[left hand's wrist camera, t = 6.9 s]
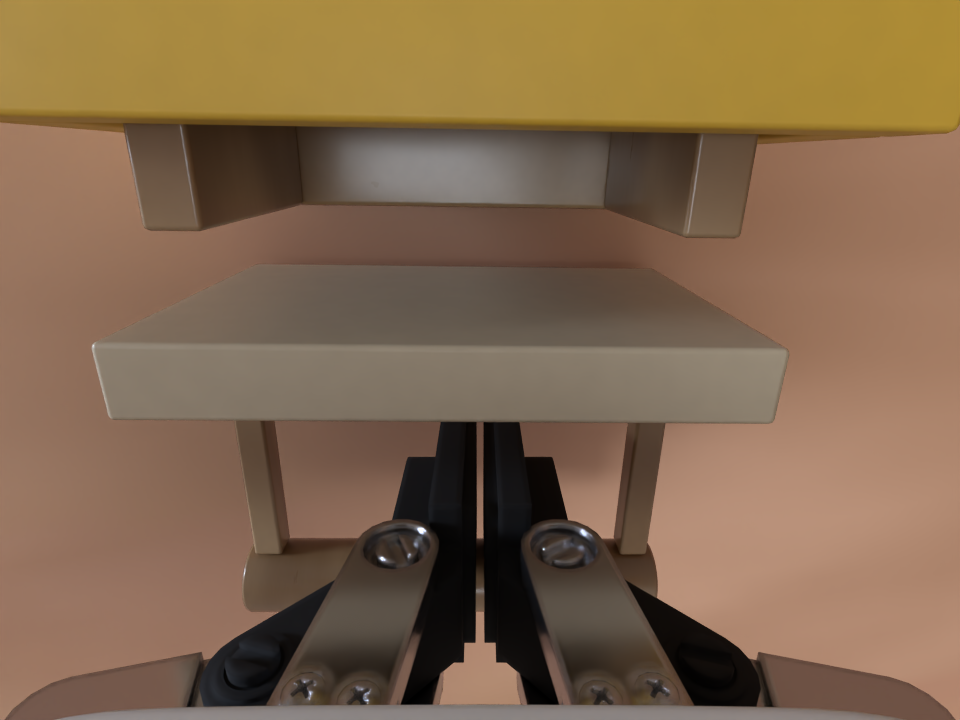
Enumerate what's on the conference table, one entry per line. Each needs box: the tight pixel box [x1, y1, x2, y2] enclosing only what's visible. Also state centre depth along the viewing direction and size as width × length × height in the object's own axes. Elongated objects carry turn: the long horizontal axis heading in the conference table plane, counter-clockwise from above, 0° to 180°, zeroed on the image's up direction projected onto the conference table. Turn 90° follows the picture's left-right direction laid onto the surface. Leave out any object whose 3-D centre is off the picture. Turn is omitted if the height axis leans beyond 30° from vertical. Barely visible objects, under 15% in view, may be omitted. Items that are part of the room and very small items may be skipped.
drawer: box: [92, 123, 789, 612], centre depth 9 cm, size 23×10×6 cm, turn 179°
